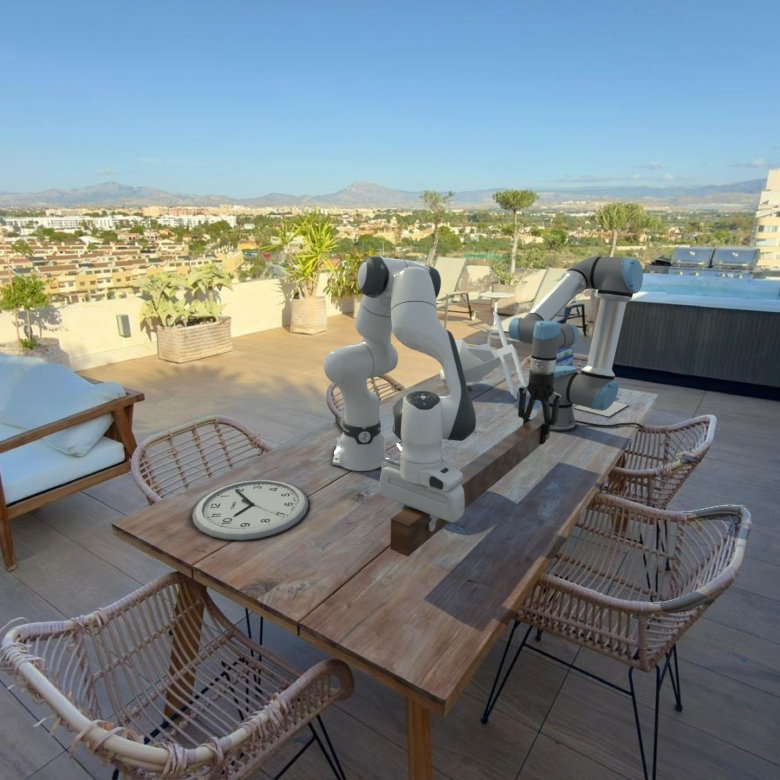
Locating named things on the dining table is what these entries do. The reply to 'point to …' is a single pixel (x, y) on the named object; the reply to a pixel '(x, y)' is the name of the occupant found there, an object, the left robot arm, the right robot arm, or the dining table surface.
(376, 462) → the left robot arm
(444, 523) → the beam
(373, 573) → the dining table surface
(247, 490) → the wall clock
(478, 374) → the white plastic object
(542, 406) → the right robot arm
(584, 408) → the invitation card
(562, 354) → the lunch box
